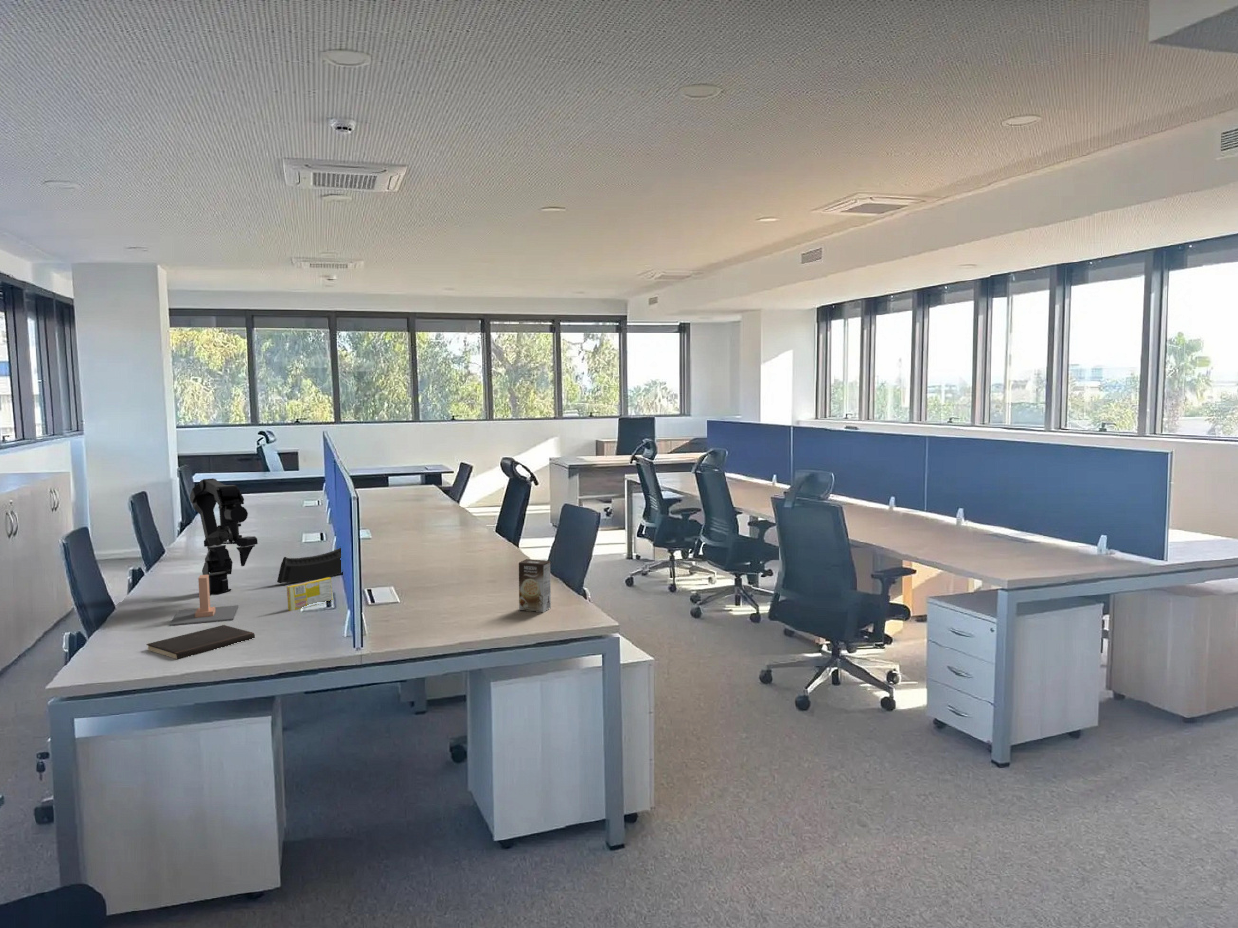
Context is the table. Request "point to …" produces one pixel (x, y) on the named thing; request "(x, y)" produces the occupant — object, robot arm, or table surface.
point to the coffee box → (534, 585)
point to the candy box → (309, 593)
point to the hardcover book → (200, 641)
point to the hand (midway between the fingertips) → (232, 566)
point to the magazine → (310, 567)
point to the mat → (189, 617)
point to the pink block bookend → (204, 598)
